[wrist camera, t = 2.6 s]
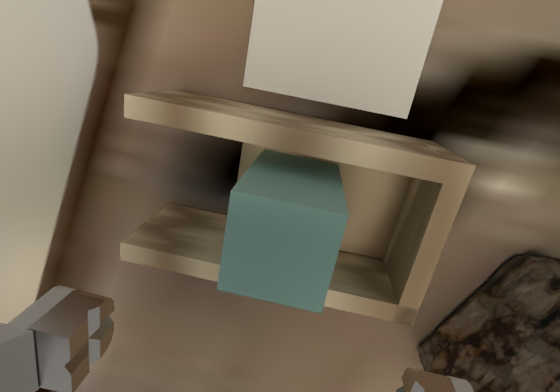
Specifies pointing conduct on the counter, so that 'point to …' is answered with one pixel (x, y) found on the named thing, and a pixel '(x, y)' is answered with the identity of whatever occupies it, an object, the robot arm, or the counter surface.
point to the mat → (342, 51)
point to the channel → (357, 189)
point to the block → (284, 231)
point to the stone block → (504, 332)
